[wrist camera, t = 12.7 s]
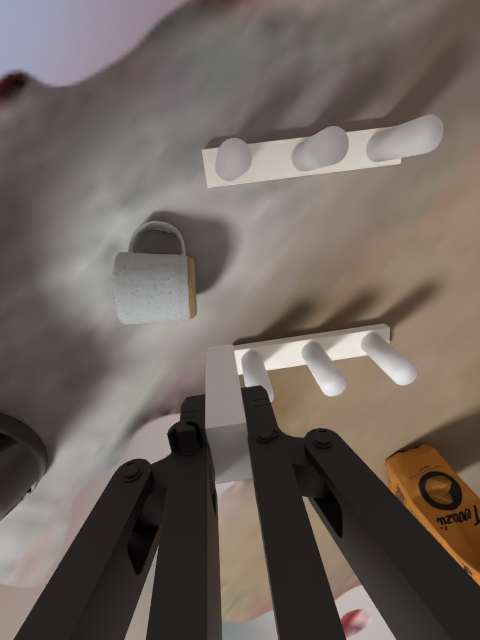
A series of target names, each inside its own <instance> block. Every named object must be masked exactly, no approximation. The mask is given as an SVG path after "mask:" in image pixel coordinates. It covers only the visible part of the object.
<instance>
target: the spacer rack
mask: <svg viewBox="0 0 480 640" xmlns="http://www.w3.org/2000/svg"><path fill="white" fill-rule="evenodd" d="M443 133H444V127H443V123H442V121H441V119H440V118H439V117H438V116H436V115H433V114H429V115H425V116H422V117H419V118H417V119H414V120H411V121H409V122H406V123H403V124H400V125H398V126H393V127H385V128H376V129H368V130H360V131H352V132H345V131H344V130H343V129H342V128H340V127H337V126H330V127H327V128H325V129H323V130H322V131H320V132H318V133H316V134H315V135H313V136H310V137H302V138H294V139H285V140H277V141H269V142H261V143H252V144H246V143H245V142H244V141H243V140H241V139H238V138H230V139H227V140H226V141H224V142H223V143H222V144H221V145H220V147H219V148H211V149H203V150H202V155H203V161H204V168H205V175H206V182H207V188H213V187H221V186H229V185H237V184H245V183H253V182H261V181H269V180H277V179H285V178H293V177H300V176H308V175H316V174H324V173H332V172H340V171H348V170H356V169H364V168H372V167H380V166H388V165H395V164H401V158H403V157H408V156H414V155H419V154H424V153H428V152H431V151H433V150H434V149H435V148H436V147H437V146H438V145H439V143H440V142H441V140H442V137H443ZM389 338H390V327H389V326H387V325H386V324H385V323H383V324H376V325H369V326H362V327H356V328H349V329H342V330H335V331H329V332H322V333H315V334H308V335H301V336H295V337H288V338H281V339H274V340H268V341H261V342H254V343H247V344H240V345H234V346H233V347H234V353H235V359H236V365H237V371H238V375H240V374H243V375H244V380H245V385H246V387H251V386H257V385H261V386H262V387H264V388H265V389H266V390H267V392H268V396H269V399H270V402H272V401H273V398H274V393H273V390H272V386H271V383H270V380H269V377H268V374H267V371H266V370H273V369H279V368H286V367H292V366H299V365H306V364H307V365H308V367H309V369H310V371H311V372H312V374H313V376H314V377H315V379H316V381H317V383H318V384H319V386H320V388H321V390H322V391H323V393H324V394H326V395H328V396H336V395H339V394H341V393H342V392H343V391H344V390H345V388H346V385H347V381H346V379H345V377H344V376H343V375H342V373H341V372H340V371H339V369H338V368H337V367H336V365H335V364H334V363H333V361H332V360H339V359H345V358H352V357H358V356H365V355H369V356H370V357H371V358H372V359H373V360H374V361H375V362H376V363H377V364H378V365H379V366H380V367H381V368H382V369H383V370H384V371H385V372H386V373H387V374H388V375H389V376H390V377H391V378H392V379H393V380H394V381H395V382H396V383H397V384H399V385H407V384H410V383H411V382H413V381H414V380H415V379H416V377H417V375H418V368H417V366H416V365H415V364H414V363H412V362H411V361H410V360H409V359H407V358H406V357H405V356H404V355H403V354H401V353H400V352H399V351H398V350H397V349H395V348H394V347H393V346H392V345H390V344H389Z"/></svg>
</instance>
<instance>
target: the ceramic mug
mask: <svg viewBox="0 0 480 640" xmlns="http://www.w3.org/2000/svg"><path fill="white" fill-rule="evenodd" d="M147 230H160V231H165V232H167V233H171V232H172V233H174V234H175V235H176V236H177V238H178V239H179V241H180V244H181V248H182V249H181V250H182V253H181V255H178V254H149V253H134V251H135V246H136V243H137V241H138V239H139V237H140V236H141V234H142V233H143V232H144V231H147ZM113 294H114V303H115V308H116V313H117V316H118V319H119V320H120V322H121V323H122V324H125V325H127V324H140V323H156V322H169V321H183V320H188V319H191V318H193V317H194V316H195V315H196V313H197V304H196V278H195V261H194V260H193V259H192V258H191V257H188V256H186V249H185V243H184V240H183V237H182V235H181V233H180V232H179V231H178V230H177V229H176V228H175V227H174V226H173V225H171V224H169V223H167V222H162V221H148V222H146V223H144V224H142V225H141V226H140V227H139V228H138V229H137V230H136V231H135V232H134V234H133V236H132V238H131V241H130V245H129V251H128V252H121V253H118V255H117V256H116V258H115V263H114V268H113Z"/></svg>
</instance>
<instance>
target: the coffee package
mask: <svg viewBox="0 0 480 640" xmlns="http://www.w3.org/2000/svg"><path fill="white" fill-rule="evenodd" d="M385 465H386V468H387V473H388V476H389V489H390V491H391V492H392V493H393V494H394V495H395V496H396V497H397V498H398V499H399V500H400V501H401V502H402V503H403V504H404V506H405V507H406V508H407V509H408V510H409V511H410V512H411V513H412V514H413V515H414V516H415V517H416V518H417V519H418V521H419V522H420V523H421V524H422V525H423V526H424V527H425V528H426V529H427V530H428V531H429V532H430V533H431V534H432V535H433V537H434V538H435V539H436V540H437V541H438V542H439V543H440V544H441V545H442V546H443V547H444V548H445V549H446V550H447V551H448V553H449V554H450V555H451V556H452V557H453V558H454V559H455V560H456V561H457V562H458V563H459V564H460V565H461V566H462V568H463V569H464V570H465V571H466V572H467V573H468V574H469V575H470V576H471V577H472V578H473V579H474V580H475V581H476V582H477V584H478V585H479V586H480V498H479V497H478V496H477V495H476V494H475V493H474V492H473V491H472V490H471V489H470V488H469V486H468V485H467V484H466V483H465V482H464V481H463V480H462V479H461V478H460V477H459V476H458V475H457V474H456V473H455V472H454V470H453V469H452V468H451V467H450V466H449V465H448V463H447V462H446V461H445V460H444V459H443V458H442V456H441V455H440V454H439V453H438V451H437V450H436V449H435V448H434V447H431V446H429V445H426V444H423V445H420V446H419V447H418V448H415V449H409V450H407V451H405V452H399V453H396V454H394V455H393V456H391V457H389V458H388V459H386V461H385Z"/></svg>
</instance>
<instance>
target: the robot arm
mask: <svg viewBox="0 0 480 640" xmlns="http://www.w3.org/2000/svg"><path fill="white" fill-rule="evenodd" d="M167 435H168V439H169V443H170V447H171V451H172V453H171V454H170V455H168V456H167V457H166V458H164V459H162V460H160V461H158V462H155V463H153V464H151V465H150V463H149V462H148V461H147V460H145V459H133V460H131V461H128V462H126V463H124V464H123V465H122V466H120V467H119V468H118V469H117V471H116V472H115V473H114V475H113V476H112V478H111V480H110V481H109V483H108V485H107V486H106V488H105V490H104V491H103V493H102V495H101V496H100V498H99V500H98V501H97V503H96V505H95V506H94V508H93V510H92V511H91V513H90V514H89V516H88V518H87V520H86V521H85V523H84V524H83V526H82V528H81V529H80V531H79V533H78V534H77V536H76V537H75V539H74V541H73V542H72V544H71V546H70V548H69V549H68V551H67V552H66V554H65V556H64V557H63V559H62V561H61V562H60V564H59V566H58V568H57V569H56V570H55V572H54V574H53V576H52V577H51V579H50V580H49V582H48V584H47V585H46V587H45V589H44V590H43V592H42V594H41V595H40V597H39V598H38V600H37V602H36V603H35V605H34V607H33V609H32V610H31V612H30V613H29V615H28V617H27V618H26V620H25V622H24V623H23V625H22V627H21V629H20V630H19V632H18V633H17V635H16V637H15V638H14V640H124V639H125V636H126V633H127V630H128V628H129V625H130V622H131V619H132V617H133V614H134V611H135V608H136V606H137V603H138V600H139V597H140V595H141V592H142V589H143V586H144V584H145V581H146V578H147V575H148V573H149V570H150V567H151V564H152V562H153V559H154V556H155V553H156V551H157V548H158V545H159V548H158V555H157V562H156V570H155V578H154V584H153V592H152V599H151V606H150V613H149V621H148V628H147V635H146V640H222V619H221V590H220V562H219V533H218V505H217V493H216V488H215V481H216V484H220V483H226V482H232V481H238V480H244V479H250V478H253V481H254V488H255V495H256V502H257V507H258V514H259V520H260V526H261V533H262V539H263V546H264V552H265V558H266V565H267V571H268V578H269V584H270V590H271V597H272V603H273V609H274V616H275V622H276V628H277V635H278V640H346V637H345V634H344V631H343V627H342V624H341V621H340V618H339V614H338V611H337V608H336V605H335V602H334V598H333V595H332V592H331V589H330V585H329V582H328V579H327V576H326V573H325V569H324V566H323V563H322V560H321V556H320V553H319V550H318V547H317V543H316V540H315V537H314V534H313V531H312V527H311V524H310V521H309V518H308V514H307V511H306V508H305V505H304V502H303V498H302V496H305V497H308V499H309V501H310V503H311V504H312V506H313V507H314V509H315V511H316V512H317V514H318V515H319V517H320V519H321V520H322V522H323V523H324V525H325V527H326V528H327V530H328V531H329V533H330V534H331V536H332V538H333V539H334V541H335V542H336V544H337V546H338V547H339V549H340V550H341V552H342V554H343V555H344V557H345V558H346V560H347V562H348V563H349V565H350V566H351V568H352V569H353V571H354V573H355V574H356V576H357V577H358V579H359V581H360V582H361V584H362V585H363V587H364V589H365V590H366V592H367V593H368V595H369V597H370V598H371V599H372V601H373V603H374V605H375V606H376V608H377V609H378V611H379V612H380V614H381V616H382V617H383V619H384V620H385V622H386V624H387V625H388V627H389V628H390V630H391V632H392V633H393V635H394V636H395V638H396V640H480V586H479V585H478V584H477V582H476V581H475V580H474V579H473V578H472V577H471V576H470V575H469V574H468V573H467V572H466V571H465V570H464V569H463V568H462V566H461V565H460V564H459V563H458V562H457V561H456V560H455V559H454V558H453V557H452V556H451V555H450V554H449V553H448V551H447V550H446V549H445V548H444V547H443V546H442V545H441V544H440V543H439V542H438V541H437V540H436V539H435V538H434V537H433V535H432V534H431V533H430V532H429V531H428V530H427V529H426V528H425V527H424V526H423V525H422V524H421V523H420V522H419V521H418V519H417V518H416V517H415V516H414V515H413V514H412V513H411V512H410V511H409V510H408V509H407V508H406V507H405V506H404V504H403V503H402V502H401V501H400V500H399V499H398V498H397V497H396V496H395V495H394V494H393V493H392V492H391V491H390V490H389V488H388V487H387V486H386V485H385V484H384V483H383V482H382V481H381V480H380V479H379V478H378V477H377V476H376V475H375V473H374V472H373V471H372V470H371V469H370V468H369V467H368V466H367V465H366V464H365V463H364V462H363V461H362V460H361V459H360V457H359V456H358V455H357V454H356V453H355V452H354V451H353V450H352V449H351V448H350V447H349V446H348V445H347V444H346V443H345V441H344V440H343V439H342V438H341V437H340V436H339V435H338V434H336V433H335V432H334V431H331V430H329V429H323V428H318V429H313V430H311V431H309V432H308V433H307V434H306V436H305V437H304V438H299V437H292V436H289V435H286V434H285V433H283V432H282V431H281V430H280V429H279V427H278V425H277V422H276V419H275V415H274V412H273V409H272V405H271V402H270V399H269V396H268V392H267V390H266V389H265V388H264V387H262V386H261V385H257V386H251V387H245V388H240V382H239V377H238V371H237V365H236V359H235V353H234V347H233V344H229V345H222V346H216V347H209V348H206V394H204V395H198V396H191V397H187V398H186V399H185V401H184V402H183V404H182V407H181V415H180V421H179V422H177V423H176V424H174V425H173V426H172V427H171V428H170V429H169V431H168V433H167ZM46 467H47V453H46V450H45V447H44V445H43V443H42V442H41V440H40V439H39V437H38V436H37V435H36V434H35V433H34V432H33V431H32V430H31V429H30V428H28V427H27V426H26V425H24V424H22V423H21V422H19V421H17V420H15V419H13V418H11V417H8V416H5V415H2V414H0V521H1V520H2V519H3V518H4V517H5V516H6V515H7V514H8V513H9V512H11V511H12V510H13V509H14V508H15V507H16V506H17V505H18V504H19V503H20V502H21V501H22V500H24V499H25V498H26V497H27V496H28V495H29V494H31V492H32V491H33V490H34V489H35V488H36V486H37V485H38V483H39V481H40V480H41V478H42V476H43V474H44V473H45V470H46Z"/></svg>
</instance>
